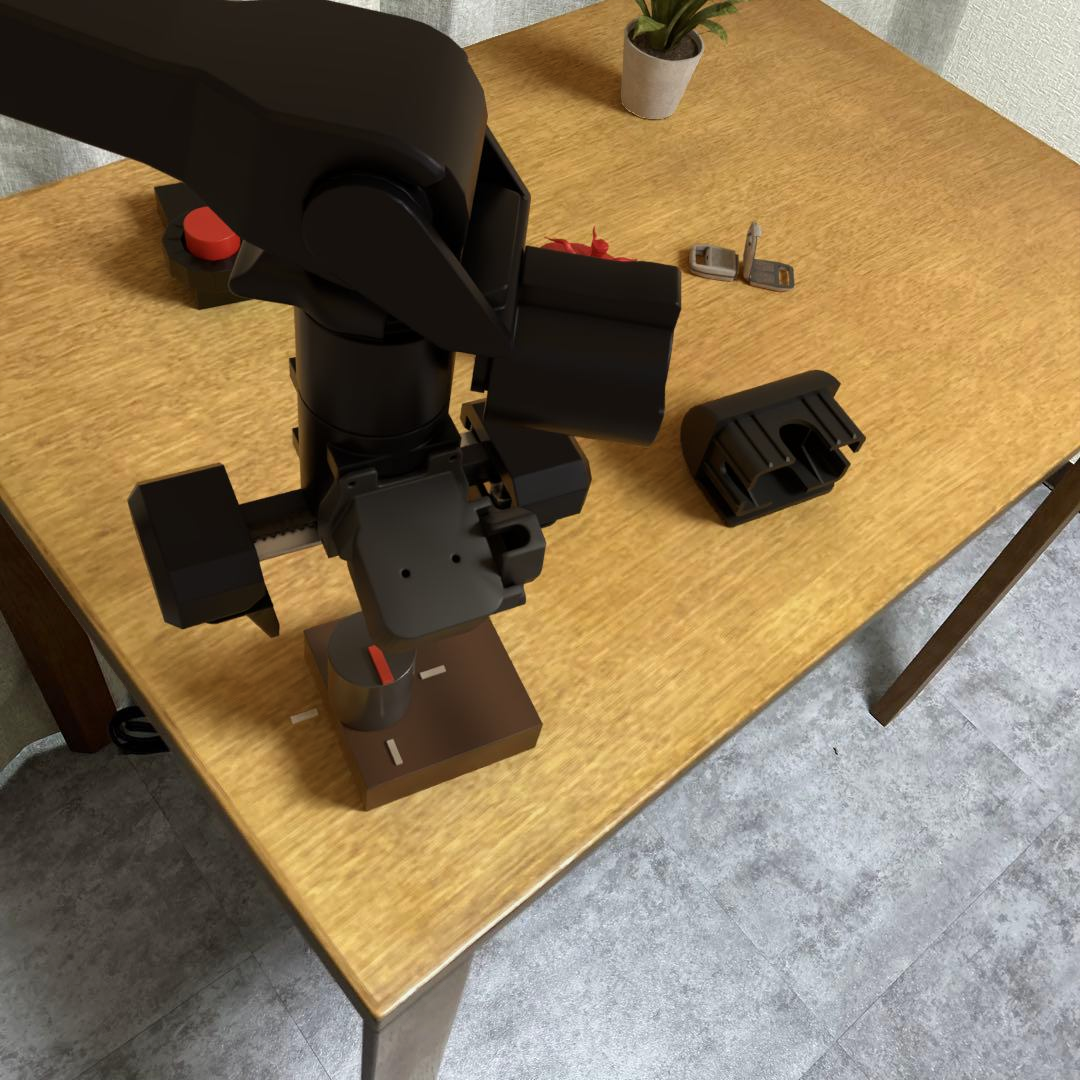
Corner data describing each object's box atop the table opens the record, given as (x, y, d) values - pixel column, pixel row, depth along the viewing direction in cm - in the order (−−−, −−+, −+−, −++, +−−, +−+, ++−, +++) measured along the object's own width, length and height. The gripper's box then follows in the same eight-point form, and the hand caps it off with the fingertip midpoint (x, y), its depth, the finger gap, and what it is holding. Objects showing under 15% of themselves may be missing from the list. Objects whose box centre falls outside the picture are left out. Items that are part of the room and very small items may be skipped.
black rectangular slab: (184, 323, 76) (177, 279, 73) (140, 213, 82) (132, 168, 79) (442, 271, 83) (447, 229, 80) (385, 173, 89) (387, 130, 86)
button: (194, 265, 75) (191, 245, 73) (179, 231, 76) (177, 211, 75) (247, 256, 76) (245, 236, 74) (231, 222, 78) (230, 202, 76)
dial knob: (316, 672, 59) (315, 622, 55) (393, 647, 61) (398, 596, 56) (344, 743, 57) (345, 696, 53) (423, 715, 59) (430, 667, 54)
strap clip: (687, 275, 87) (702, 232, 84) (688, 250, 89) (702, 207, 86) (792, 294, 88) (811, 253, 84) (791, 269, 90) (809, 227, 86)
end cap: (782, 416, 80) (815, 349, 74) (839, 489, 77) (878, 425, 71) (667, 454, 76) (692, 386, 71) (721, 532, 73) (753, 468, 67)
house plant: (691, 182, 94) (750, -4, 81) (546, 121, 96) (580, -70, 83) (744, 103, 102) (805, -78, 89) (609, 48, 104) (650, -137, 91)
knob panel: (324, 828, 58) (323, 805, 55) (264, 669, 62) (261, 640, 60) (535, 747, 62) (544, 723, 59) (465, 604, 67) (470, 576, 64)
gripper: (178, 630, 34) (220, 818, 47) (693, 479, 41) (607, 680, 53) (94, 374, 39) (152, 605, 52) (562, 278, 46) (513, 503, 58)
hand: (365, 601), depth 54 cm, fingers open, 9 cm apart
